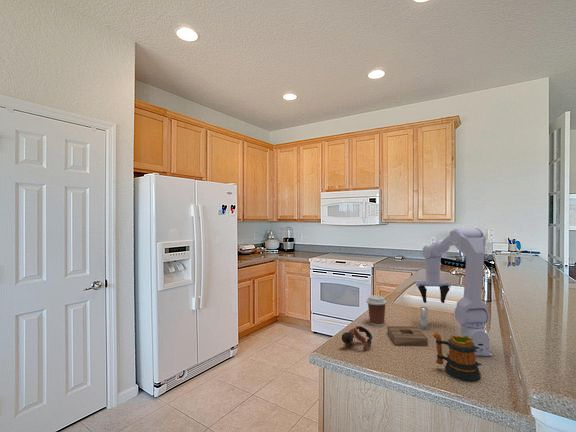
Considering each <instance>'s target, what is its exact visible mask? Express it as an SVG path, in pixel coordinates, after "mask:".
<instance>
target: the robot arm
mask: <svg viewBox="0 0 576 432" xmlns="http://www.w3.org/2000/svg"><path fill="white" fill-rule="evenodd" d="M486 238H487V236H486V234H485V233H484V231H483V230H482V229H480V228H464V229H463V228H460V229H459V228H453V229H452V230H450V231H449V234H448V235H447V236H446V237H445V238H444V239H442V238H437V239H436V241H435V242H432V243H431V245H424V246H423V248H422V256H423V257H424V260H425V280H424V281H423V280H422V281H421V280H420V281H415V287H417V288H418V290H419V292H420V294H421V298H422V301H423V303H424V304H427V288H426V287H438V288H439V293H440V303H442V304H445V300H446V297H447V295H448V293H449V291H450V288H451V287H452V282H450V281H443V280H442V281H441V267H440V266H441V265H440V263H441V261H442V260H441V259H442V257H443V254H446V253H447V252H448V251H450V247H452V246H454V247H455V248H456V249H457V250H458V251H459V252H460V253H463V254H464V255H465V256H466V257H465V258H466V259H465V268H464V269H465V270H464V271H465V272H464V286H463V297H462V298H460V299H459V300H458V301H457V302H456V307H455V308H454V312H453V313H454V318H455V320H456V321H457V323H458V324H459V325H460V336H461V337H464V336H468V337H470V338H471V340H472V341H473V343H474V345H475V347H479V348H480V349H476V351H477V352H475V356H477V357H478V356H481V357H482V356H483V357H490V356H491V357H492V356H493V354H492V353H491V352H490V338H489V335H488V333H487V332H486V331H485V329H484V327H486V325H487V323H488V322H489V321H490V314H489V305H487V303H486V302H485V301H484V300H482V292H483V291H482V290H483V289H482V288H483V279H484V278H483V277H484V276H483V275H484V266H485V265H484V263H485V252H486V241H487V239H486Z"/></svg>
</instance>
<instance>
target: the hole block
mask: <svg viewBox="0 0 576 432" xmlns="http://www.w3.org/2000/svg"><path fill="white" fill-rule="evenodd" d="M387 335H388V336H389V337H390V339H391V341H392V342H393V344H394V346H413V347H414V346H415V347H416V346H418V347H428V344H429V340H428V337H427V336H426V335H425V333H424V332H422V329H421V328H420V327H418V326H415V325H414V326H410V325H409V326H406V325H387Z"/></svg>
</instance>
